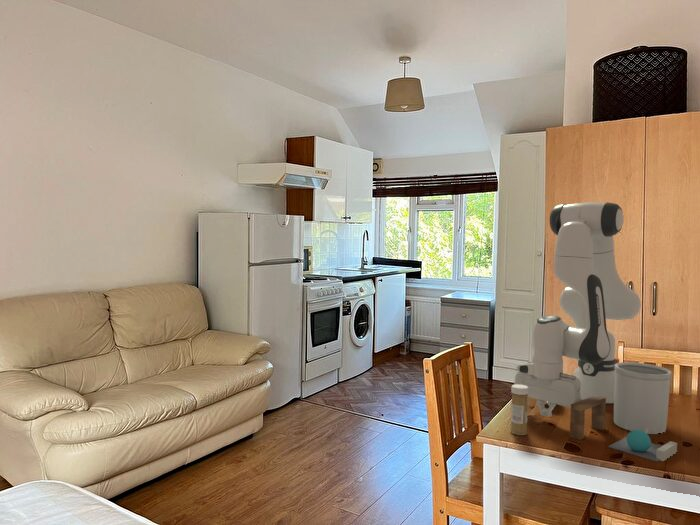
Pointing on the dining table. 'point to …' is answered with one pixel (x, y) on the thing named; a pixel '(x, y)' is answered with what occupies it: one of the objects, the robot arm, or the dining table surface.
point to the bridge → (579, 415)
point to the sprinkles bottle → (519, 409)
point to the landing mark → (647, 454)
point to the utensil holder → (641, 397)
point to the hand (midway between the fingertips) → (545, 415)
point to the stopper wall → (666, 451)
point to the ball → (638, 440)
